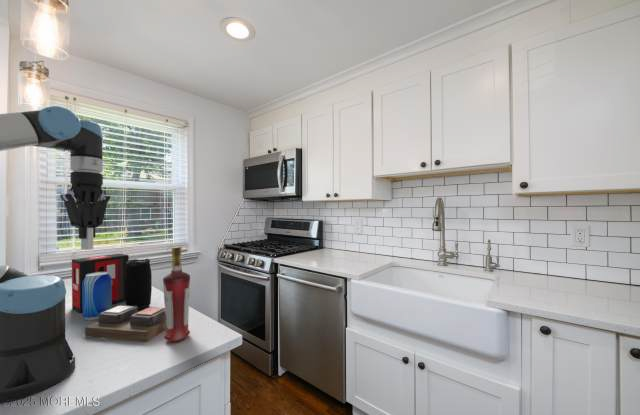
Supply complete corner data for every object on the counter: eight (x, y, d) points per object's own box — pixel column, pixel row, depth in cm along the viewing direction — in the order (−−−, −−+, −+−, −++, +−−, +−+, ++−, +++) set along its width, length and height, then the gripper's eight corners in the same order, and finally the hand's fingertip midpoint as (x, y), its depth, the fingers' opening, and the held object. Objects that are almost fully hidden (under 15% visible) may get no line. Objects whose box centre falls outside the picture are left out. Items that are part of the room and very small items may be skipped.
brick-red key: (150, 320, 85) (150, 314, 85) (135, 319, 86) (135, 313, 86) (163, 314, 90) (163, 308, 90) (149, 313, 91) (149, 307, 91)
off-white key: (118, 318, 87) (118, 312, 87) (104, 317, 88) (104, 311, 88) (132, 312, 92) (132, 306, 92) (119, 311, 93) (119, 305, 93)
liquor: (162, 337, 83) (161, 247, 83) (188, 331, 87) (187, 245, 87) (165, 347, 77) (164, 250, 77) (192, 339, 81) (191, 247, 81)
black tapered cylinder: (155, 304, 112) (154, 257, 112) (144, 312, 103) (144, 261, 103) (132, 305, 111) (132, 258, 111) (120, 314, 102) (119, 262, 102)
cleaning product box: (119, 297, 122) (119, 253, 122) (128, 300, 117) (128, 255, 117) (72, 309, 108) (71, 259, 108) (80, 313, 103) (80, 261, 103)
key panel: (145, 342, 80) (145, 321, 80) (85, 336, 84) (85, 317, 84) (178, 322, 94) (178, 305, 94) (125, 318, 98) (124, 302, 98)
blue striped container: (101, 320, 96) (100, 276, 96) (76, 321, 95) (75, 277, 95) (117, 311, 104) (116, 270, 104) (94, 312, 104) (94, 271, 104)
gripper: (72, 168, 75) (73, 252, 75) (117, 174, 88) (117, 246, 87) (52, 169, 77) (52, 252, 76) (98, 175, 89) (99, 246, 89)
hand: (87, 249), depth 82 cm, fingers closed
